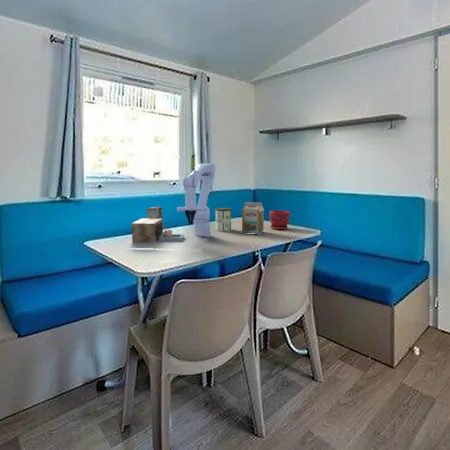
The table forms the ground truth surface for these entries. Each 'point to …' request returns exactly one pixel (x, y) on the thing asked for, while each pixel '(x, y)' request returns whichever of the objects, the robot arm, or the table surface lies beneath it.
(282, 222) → the plant pot
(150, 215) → the coffee box
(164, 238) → the tray
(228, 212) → the coffee can
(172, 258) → the table surface
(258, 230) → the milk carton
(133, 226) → the brown boxy block
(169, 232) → the tan rounded smooth part
